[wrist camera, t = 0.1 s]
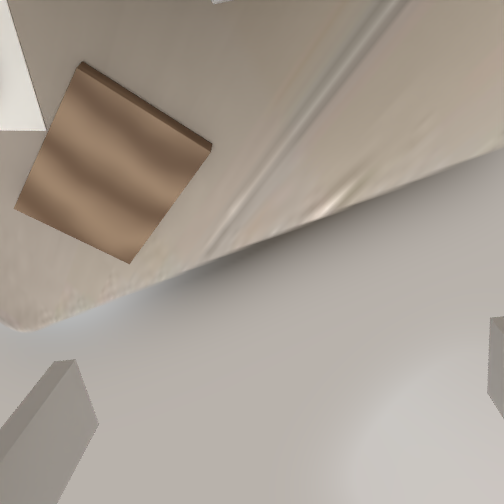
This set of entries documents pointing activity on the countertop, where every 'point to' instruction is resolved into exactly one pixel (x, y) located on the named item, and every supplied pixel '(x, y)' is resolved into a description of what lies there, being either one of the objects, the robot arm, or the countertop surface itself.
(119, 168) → the walnut board
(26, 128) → the white tile
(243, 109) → the countertop surface
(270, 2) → the countertop surface
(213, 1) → the die
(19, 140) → the countertop surface
